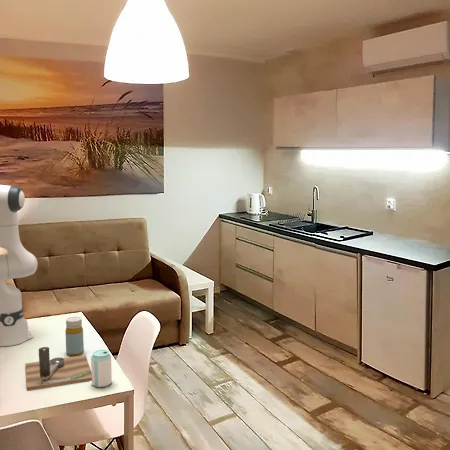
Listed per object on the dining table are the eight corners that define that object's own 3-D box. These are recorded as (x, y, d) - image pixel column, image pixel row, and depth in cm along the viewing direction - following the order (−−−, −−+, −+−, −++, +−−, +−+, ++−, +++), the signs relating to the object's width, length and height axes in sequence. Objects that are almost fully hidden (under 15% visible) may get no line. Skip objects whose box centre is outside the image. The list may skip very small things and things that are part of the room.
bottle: (78, 357, 212) (77, 322, 210) (63, 356, 214) (61, 321, 212) (86, 351, 219) (85, 317, 217) (71, 349, 221) (70, 315, 218)
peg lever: (53, 362, 204) (52, 334, 202) (66, 362, 204) (64, 334, 202) (34, 383, 186) (32, 353, 184) (47, 384, 186) (46, 353, 184)
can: (99, 378, 194) (98, 347, 192) (115, 381, 192) (114, 350, 190) (88, 386, 188) (86, 354, 186) (104, 389, 185) (103, 357, 183)
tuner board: (25, 366, 204) (25, 362, 204) (85, 357, 212) (85, 354, 212) (27, 390, 184) (26, 387, 183) (93, 380, 192) (93, 376, 192)
